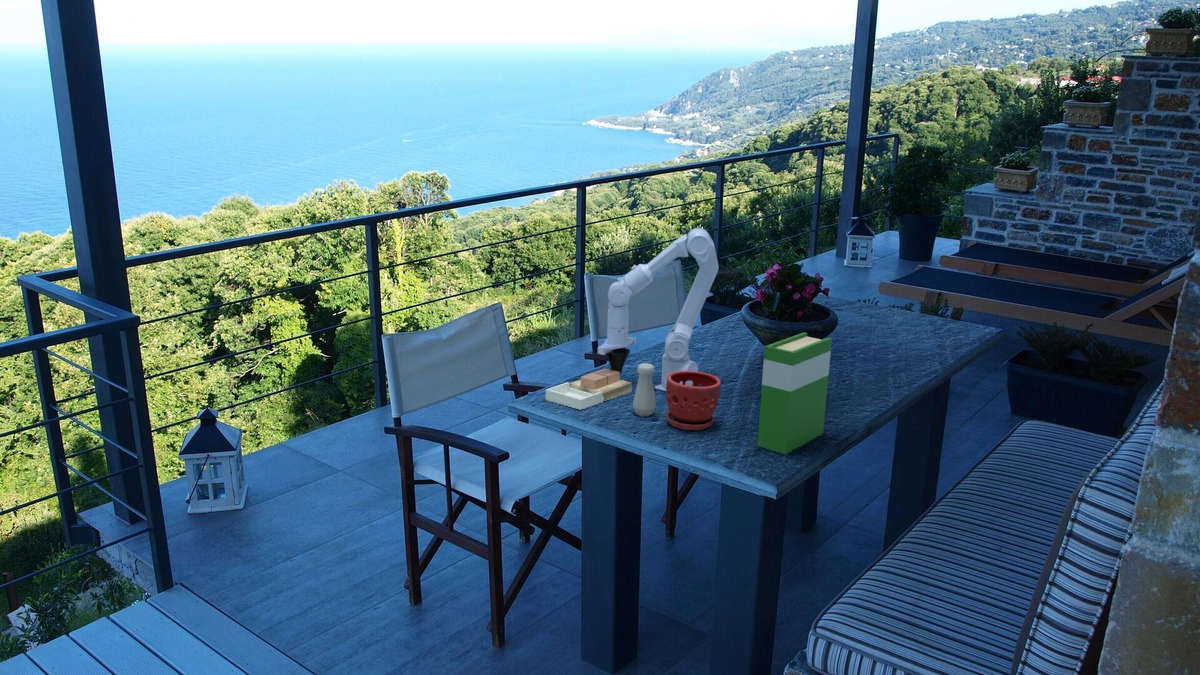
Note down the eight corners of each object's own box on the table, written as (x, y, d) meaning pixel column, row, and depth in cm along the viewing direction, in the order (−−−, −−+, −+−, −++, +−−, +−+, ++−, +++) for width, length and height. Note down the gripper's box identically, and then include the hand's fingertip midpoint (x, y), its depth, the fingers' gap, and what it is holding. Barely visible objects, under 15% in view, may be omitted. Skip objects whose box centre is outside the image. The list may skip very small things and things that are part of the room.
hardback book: (795, 426, 231) (803, 332, 224) (823, 434, 226) (832, 338, 220) (757, 445, 218) (764, 346, 211) (785, 454, 213) (793, 352, 207)
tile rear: (619, 380, 254) (619, 372, 254) (608, 385, 251) (608, 376, 250) (605, 377, 257) (605, 368, 257) (593, 381, 254) (593, 372, 253)
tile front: (606, 385, 250) (607, 376, 250) (595, 389, 247) (595, 380, 246) (592, 381, 253) (592, 372, 253) (580, 385, 250) (580, 376, 249)
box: (603, 402, 245) (603, 391, 244) (580, 411, 238) (580, 399, 237) (568, 392, 252) (568, 381, 251) (545, 400, 245) (545, 389, 244)
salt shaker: (639, 419, 233) (641, 369, 230) (628, 412, 238) (630, 362, 235) (659, 415, 236) (661, 366, 232) (648, 408, 241) (650, 360, 237)
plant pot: (680, 436, 222) (682, 388, 219) (655, 418, 234) (657, 372, 231) (728, 430, 227) (731, 383, 224) (701, 412, 239) (703, 367, 236)
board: (631, 391, 254) (632, 382, 253) (603, 402, 245) (604, 393, 244) (597, 382, 261) (597, 373, 260) (569, 392, 252) (569, 383, 251)
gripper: (622, 319, 261) (621, 366, 265) (589, 328, 250) (588, 377, 254) (643, 323, 257) (641, 371, 261) (609, 333, 246) (608, 382, 250)
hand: (616, 374), depth 257 cm, fingers closed
